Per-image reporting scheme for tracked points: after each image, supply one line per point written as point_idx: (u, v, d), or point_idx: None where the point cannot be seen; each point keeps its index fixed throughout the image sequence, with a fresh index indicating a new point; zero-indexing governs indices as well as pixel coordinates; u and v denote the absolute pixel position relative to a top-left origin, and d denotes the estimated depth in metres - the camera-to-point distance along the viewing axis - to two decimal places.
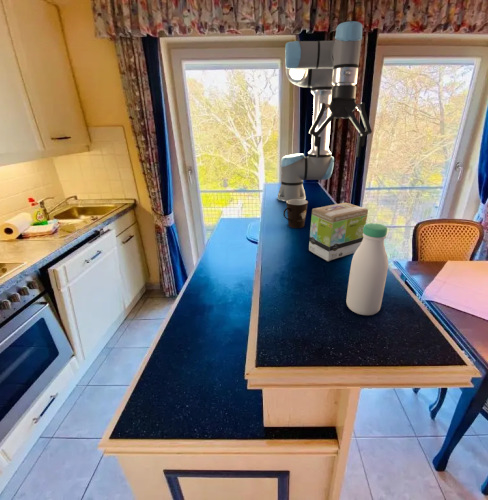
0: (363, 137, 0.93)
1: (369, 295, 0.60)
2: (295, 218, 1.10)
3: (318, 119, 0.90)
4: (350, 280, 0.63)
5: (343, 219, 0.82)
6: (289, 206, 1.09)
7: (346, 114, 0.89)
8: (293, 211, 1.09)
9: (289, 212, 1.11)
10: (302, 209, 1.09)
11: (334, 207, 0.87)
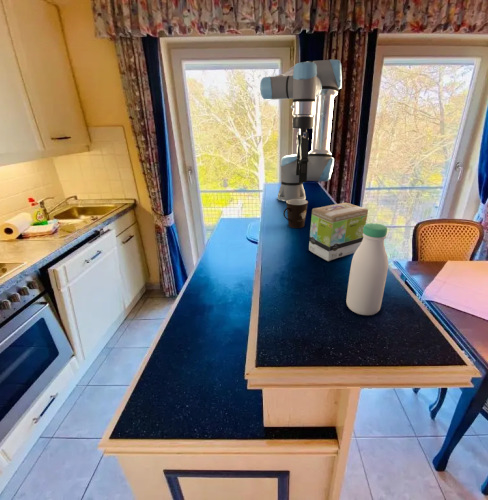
0: (301, 164, 0.96)
1: (369, 295, 0.60)
2: (295, 218, 1.10)
3: None
4: (350, 280, 0.62)
5: (343, 219, 0.82)
6: (289, 206, 1.09)
7: None
8: (293, 211, 1.09)
9: (289, 212, 1.11)
10: (302, 209, 1.09)
11: (334, 207, 0.87)
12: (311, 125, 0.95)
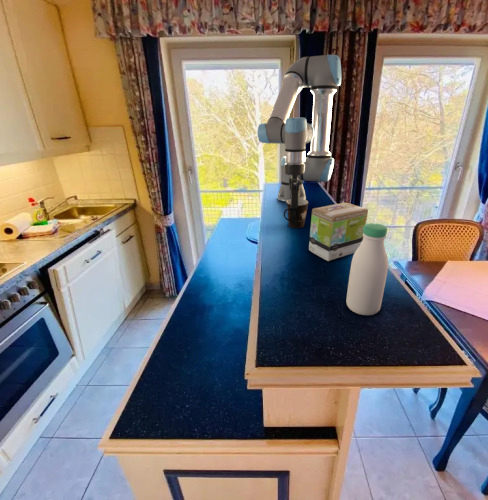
0: (292, 210, 1.07)
1: (369, 295, 0.60)
2: None
3: None
4: (350, 280, 0.62)
5: (343, 219, 0.82)
6: (289, 206, 1.09)
7: None
8: None
9: (289, 212, 1.10)
10: (303, 209, 1.08)
11: (334, 207, 0.87)
12: (302, 172, 1.03)
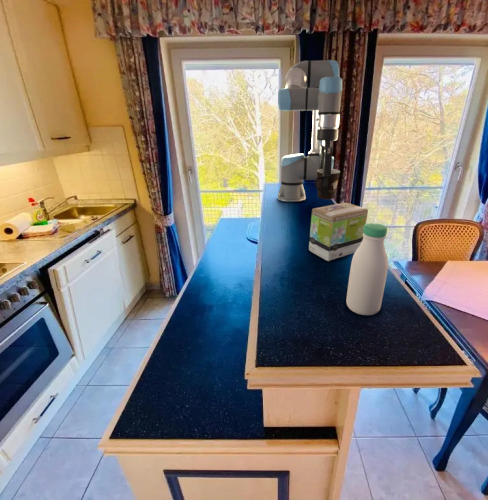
0: (324, 179, 1.02)
1: (369, 295, 0.60)
2: None
3: (320, 158, 1.09)
4: (350, 280, 0.62)
5: (343, 219, 0.82)
6: (320, 175, 1.03)
7: None
8: None
9: (320, 182, 1.05)
10: (335, 178, 1.03)
11: (334, 207, 0.87)
12: (335, 137, 0.98)
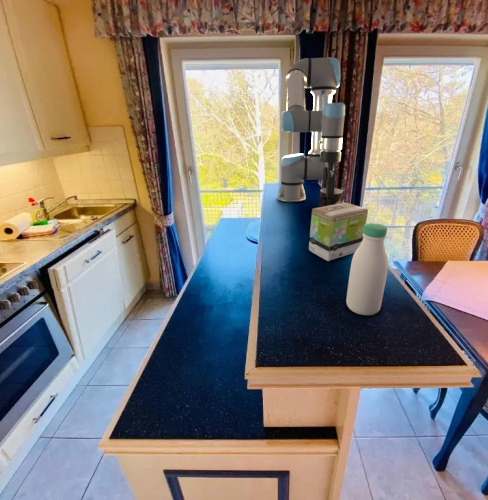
0: (327, 199, 1.05)
1: (369, 295, 0.60)
2: None
3: (322, 177, 1.12)
4: (350, 280, 0.62)
5: (343, 219, 0.82)
6: (324, 195, 1.06)
7: None
8: None
9: (323, 201, 1.08)
10: (337, 198, 1.06)
11: (334, 207, 0.87)
12: (338, 159, 1.01)
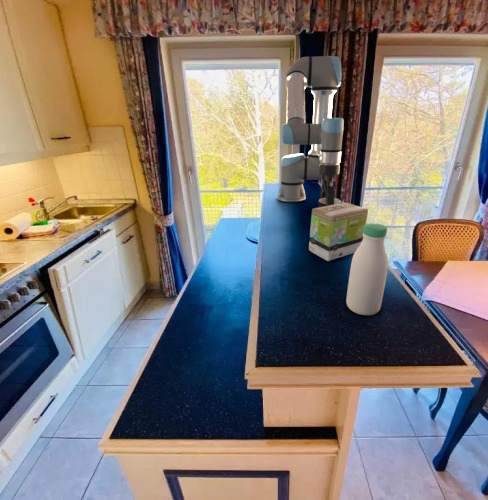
0: None
1: (369, 295, 0.60)
2: None
3: None
4: (350, 280, 0.62)
5: (343, 219, 0.82)
6: (322, 205, 1.09)
7: None
8: None
9: None
10: None
11: (334, 207, 0.87)
12: (337, 172, 1.03)
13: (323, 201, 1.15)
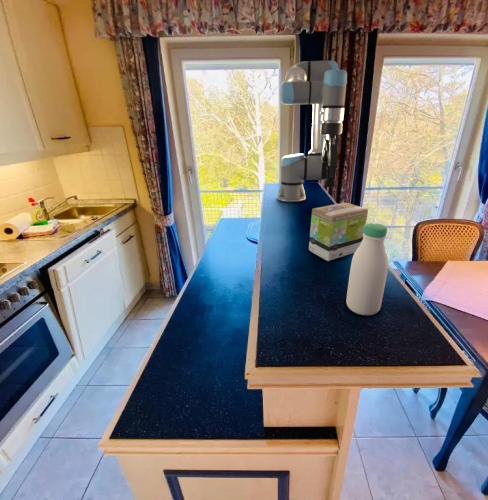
0: (329, 170, 0.98)
1: (369, 295, 0.60)
2: None
3: (323, 148, 1.09)
4: (350, 280, 0.62)
5: (343, 219, 0.82)
6: None
7: None
8: None
9: None
10: None
11: (334, 207, 0.87)
12: (340, 131, 0.97)
13: None
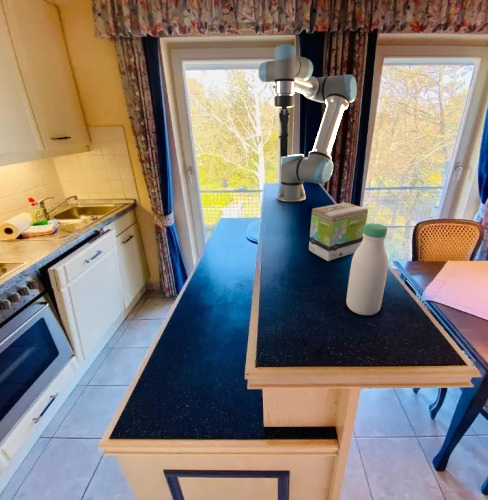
0: (282, 139, 1.05)
1: (369, 295, 0.60)
2: None
3: None
4: (350, 280, 0.62)
5: (343, 219, 0.82)
6: None
7: None
8: None
9: None
10: None
11: (334, 207, 0.87)
12: (291, 103, 1.04)
13: None
